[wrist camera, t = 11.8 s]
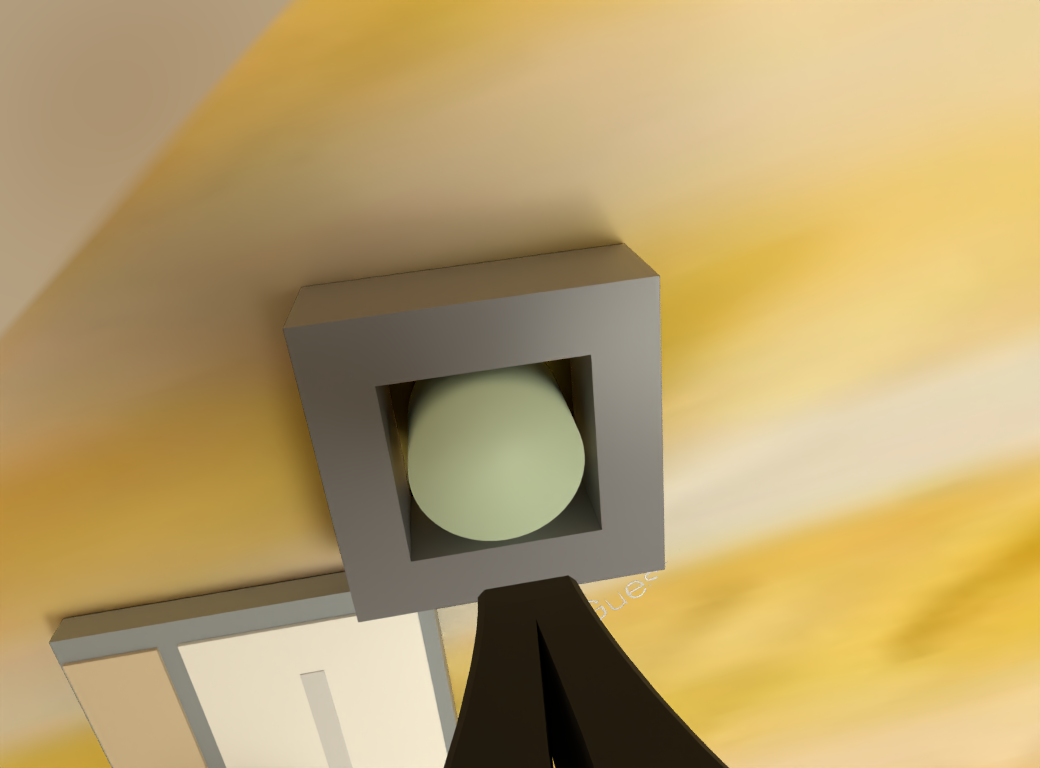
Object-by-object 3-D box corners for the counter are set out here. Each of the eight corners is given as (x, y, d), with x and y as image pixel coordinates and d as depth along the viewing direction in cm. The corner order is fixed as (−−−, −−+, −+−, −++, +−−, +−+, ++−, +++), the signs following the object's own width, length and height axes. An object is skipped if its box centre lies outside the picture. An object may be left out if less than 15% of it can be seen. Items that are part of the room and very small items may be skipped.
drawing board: (426, 558, 19) (427, 582, 18) (483, 849, 24) (485, 879, 23) (63, 618, 18) (46, 647, 17) (201, 906, 23) (194, 938, 22)
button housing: (624, 243, 16) (659, 275, 14) (634, 507, 19) (664, 569, 17) (301, 287, 15) (283, 328, 13) (364, 552, 18) (357, 622, 16)
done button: (555, 329, 16) (578, 374, 14) (567, 465, 18) (589, 525, 16) (395, 352, 16) (393, 402, 14) (421, 489, 18) (422, 553, 15)
